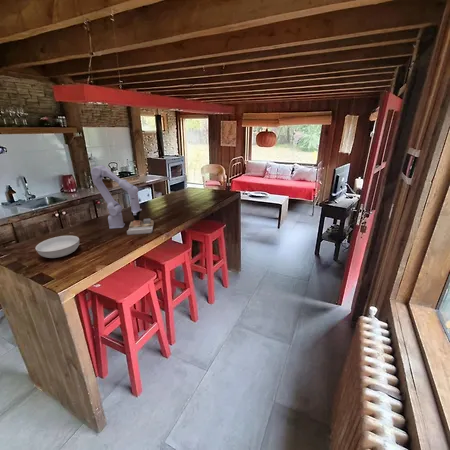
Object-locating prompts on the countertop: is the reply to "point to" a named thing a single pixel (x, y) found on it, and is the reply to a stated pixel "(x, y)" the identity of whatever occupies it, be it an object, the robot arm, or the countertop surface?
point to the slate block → (147, 221)
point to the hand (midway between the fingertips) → (137, 221)
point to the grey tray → (140, 230)
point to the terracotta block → (136, 222)
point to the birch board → (142, 224)
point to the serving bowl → (58, 246)
